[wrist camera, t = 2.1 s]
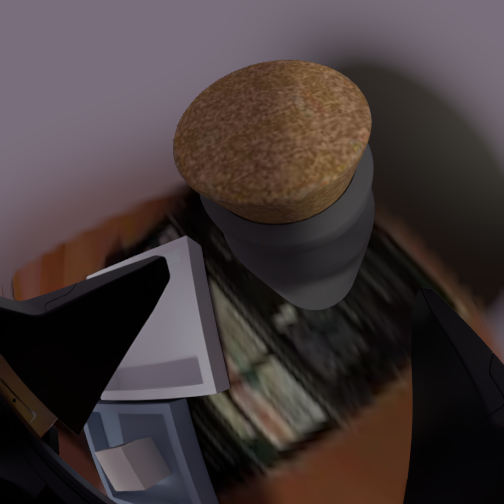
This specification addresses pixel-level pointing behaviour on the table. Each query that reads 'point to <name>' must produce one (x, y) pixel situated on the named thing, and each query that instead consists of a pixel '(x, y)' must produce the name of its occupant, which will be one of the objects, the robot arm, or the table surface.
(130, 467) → the white cube
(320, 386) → the table surface
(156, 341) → the grey tray
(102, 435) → the blue tray
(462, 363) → the robot arm
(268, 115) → the bottle
